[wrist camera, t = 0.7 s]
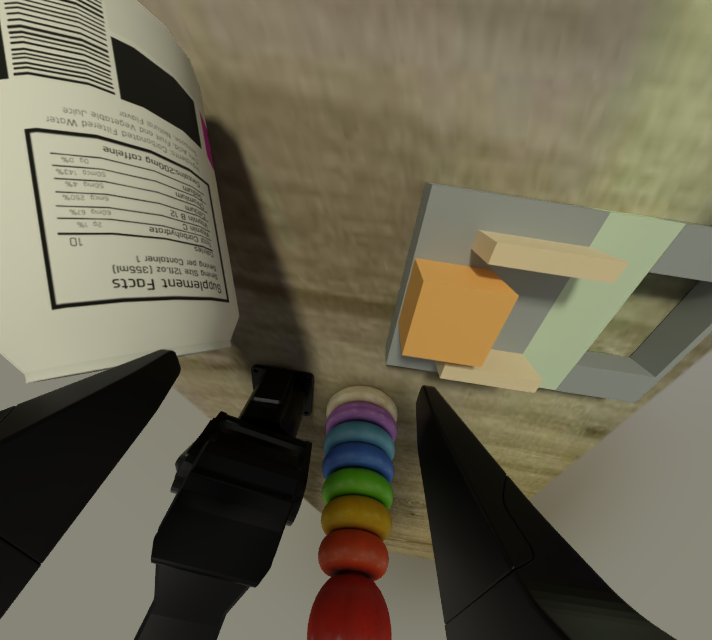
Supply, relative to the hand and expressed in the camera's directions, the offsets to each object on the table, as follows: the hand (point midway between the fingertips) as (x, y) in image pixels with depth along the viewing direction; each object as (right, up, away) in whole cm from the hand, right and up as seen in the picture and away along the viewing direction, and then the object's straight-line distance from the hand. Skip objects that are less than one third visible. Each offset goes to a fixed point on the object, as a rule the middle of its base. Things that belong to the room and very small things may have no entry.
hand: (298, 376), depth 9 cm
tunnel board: (+17, +4, +11) cm, 20 cm away
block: (+8, +4, +9) cm, 13 cm away
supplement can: (-10, +15, +3) cm, 19 cm away
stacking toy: (+3, -8, +20) cm, 22 cm away
